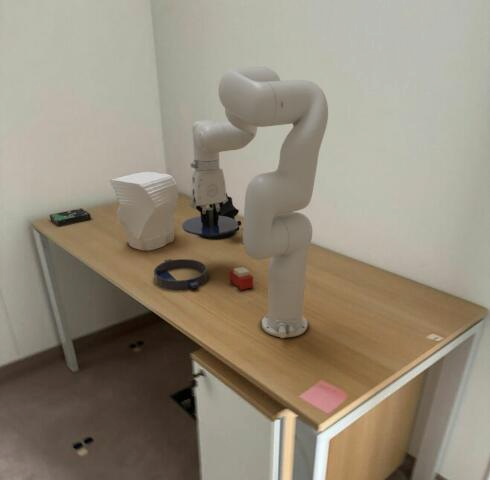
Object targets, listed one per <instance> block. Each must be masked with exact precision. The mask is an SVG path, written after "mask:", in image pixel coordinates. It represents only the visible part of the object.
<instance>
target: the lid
mask: <svg viewBox="0 0 490 480" xmlns="http://www.w3.org/2000/svg"><path fill="white" fill-rule="evenodd" d="M206 214H207V215H208V226H205V225H203V224H202V223H201V215H200V216H195V217H191V218H188V219H186V220H184V222H183V223H182V224H181V228H182V230H183V231H184V232H186V233H188V234H190V235H193V236H194V235H195V236H199V235H202V236H213V235H221V234H226V233H229V232H232V231H234V230H235V229H236V228H237V227H238V222H237V221H238V220H236V219H235V220H234V219H232V218H230V217H226V216H219V220H218V224H215V223H214V208H210V207H206Z"/></svg>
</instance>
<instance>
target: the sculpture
mask: <svg viewBox="0 0 490 480" xmlns="http://www.w3.org/2000/svg"><path fill="white" fill-rule="evenodd" d="M226 197H227V198H228V201H227V202H226V203H225V204H223V206H222V207H221V208H220V211H219V212H218V214H219V216H226V217H230V218H232V219H234V220H236V218H235V217H237V216H238V214H239V212H240V210H239V209H238V208H236V207H235V206H234V203H233V197H231V196H228V193H227V192H226ZM208 208H213V205H212V204H209V205H208ZM236 221H237V222H238V227H237V228H236V229H235V230H234V231H232V232H229V233H226V234H221V235H213V236H202V235H198V236H199V237H201V238H203V239H207V240H225V239H228V238H231V237H233V236H234V235H235V234H236V232H238V231H239V230H240V227H241V226H242V221H241V220H236Z"/></svg>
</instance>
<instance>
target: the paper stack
mask: <svg viewBox="0 0 490 480" xmlns="http://www.w3.org/2000/svg"><path fill="white" fill-rule="evenodd" d="M109 182H110V185H111V186H112V189H113V190H114V192H115V194H116V198H117V201H118V204H119V206H118V208H117V211H116V214H115V215H116V218H117V219H119V221H120V224H121V227H122V229H123V231H124V234H125V237H126V240H127V243H128V245H129V246H130V247H131V248H133V249H136V250H139V251H149V252H150V251H153V250H155V249H159V248H163V247H165V246H166V245H167V244H170V243H172V242H173V241H174V240H175V225H174V224H175V213H176V210H177V206H178V201H179V191H178V183H177V182H176V180H175V179H174V177H173V176H172V175H171V174H168V173H161V172H157V171H142V172H137V173H131V174H127V175H123V176H120V177H116V178H113V179H110V180H109Z"/></svg>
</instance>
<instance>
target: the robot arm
mask: <svg viewBox="0 0 490 480" xmlns="http://www.w3.org/2000/svg"><path fill="white" fill-rule="evenodd" d="M217 89H218V97H219V101H220V103H221V105H222V106H223V107H224V113H225V117H226V119H227V121H225V122H216V121H214V120H211V119H201V120H196V121H194V122H193V123H192V130H191V131H192V144H193V145H192V147H193V162H191V163H190V164H189V165H190V168H191V169H193V170H192V175H191V176H192V177H191V198H190V199H191V200H190V202H189V205H188V207H190V208H192V209H195V210H196V211H198V212H199V213H200V216H201V223H202V224H203V225H205V226H208V215H207V214H206V208H207V206H209V204H212V205H213V208H214V223H215V224H218V220H219V214H218V212H219V211H220V208H221V207H222V206H223V204H225V203H226V202H227V201H228V198H227V197H226V193H227V187H226V181H225V174H224V170H223V168H221V166H220V153H223V152H229V151H237V150H242V149H243V148H245V147H247V146H248V145H249V144H250V143H251V142H252V141H253V140H254V139H255V138H256V135H257V132H258V128H266V127H273V126H275V127H276V126H284V125H292V128H291V130H290V131H289V132H288V134H287V135H286V137H284V138H285V139H284V140H283V142H282V144H281V147H280V151H279V161H278V165H277V168H276V170H275V171H269V172H264V173H260V174H257V175H255V176H254V177H253V178H251V180H250V181H249V182H248V184H247V186H246V190H245V195H244V209H243V224H242V225H243V226H242V242H243V247H244V250H245V252H246V254H247V255H248V257H250V258H251V259H252V260H256V261H257V260H258V261H259V260H266V259H269V260H270V261H269V263H268V273H267V274H268V277H267V279H268V280H267V314H266V315H265V316H264V317H263V318H262V320H261V329H263V331H264V332H266V333H267V334H268V335H271V336H274V337H279V338H280V339H284V338H294V337H298V336H301V335H302V334H304V333H305V332H306V331H307V330H308V320H307V319H306V317H305V316H303V312H304V299H305V298H304V297H305V285H306V271H307V270H306V269H307V260H308V254H309V250H310V247H311V243H312V238H313V224H312V222H311V220H310V219H309V217H308V216H307V215H305V214H303V213H302V212H298V211H301V210H304V209H306V208H307V207H308V206H309V205H310V203H311V201H312V197H313V192H314V186H315V180H316V174H317V168H318V162H319V161H318V160H319V154H320V150H321V146H322V144H323V139H324V136H325V133H326V129H327V126H328V122H329V121H328V120H329V106H328V105H329V103H328V100H327V97H326V94H325V92H324V90H323V89H322V88H321V87H320V86H319V85H318V84H317V83H316V82H313V81H310V80H304V79H287V80H286V79H285V80H281V78H280V76H279V74H278V73H277V72H276V71H275V70H273V69H272V68H269V67H266V66H249V67H246V66H245V67H233V68H232V67H231V68H230V69H228V70H226V71H225V72H224V73H223V74H222V75H221V78H220V80H219V83H218V88H217Z"/></svg>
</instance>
